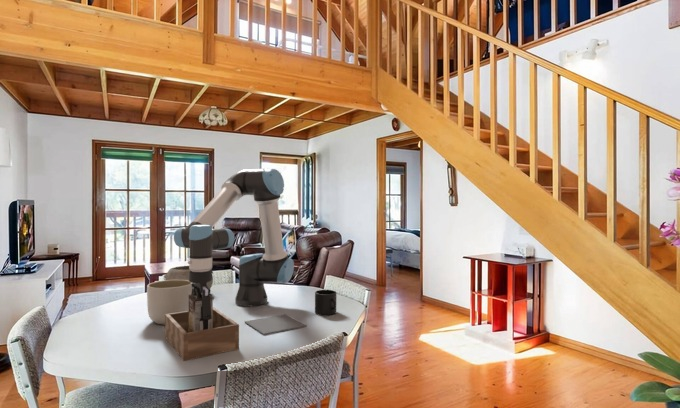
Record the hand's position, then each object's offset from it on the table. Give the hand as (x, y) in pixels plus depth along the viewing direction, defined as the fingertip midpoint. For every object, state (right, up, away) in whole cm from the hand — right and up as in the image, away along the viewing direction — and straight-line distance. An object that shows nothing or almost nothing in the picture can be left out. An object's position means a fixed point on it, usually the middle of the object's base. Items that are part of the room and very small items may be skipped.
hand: (200, 335), depth 136 cm
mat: (+22, -3, +20) cm, 30 cm away
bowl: (-29, -2, +67) cm, 73 cm away
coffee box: (0, -3, 0) cm, 3 cm away
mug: (+43, -3, +37) cm, 56 cm away
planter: (-21, -2, +24) cm, 32 cm away
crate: (0, -2, 0) cm, 2 cm away
